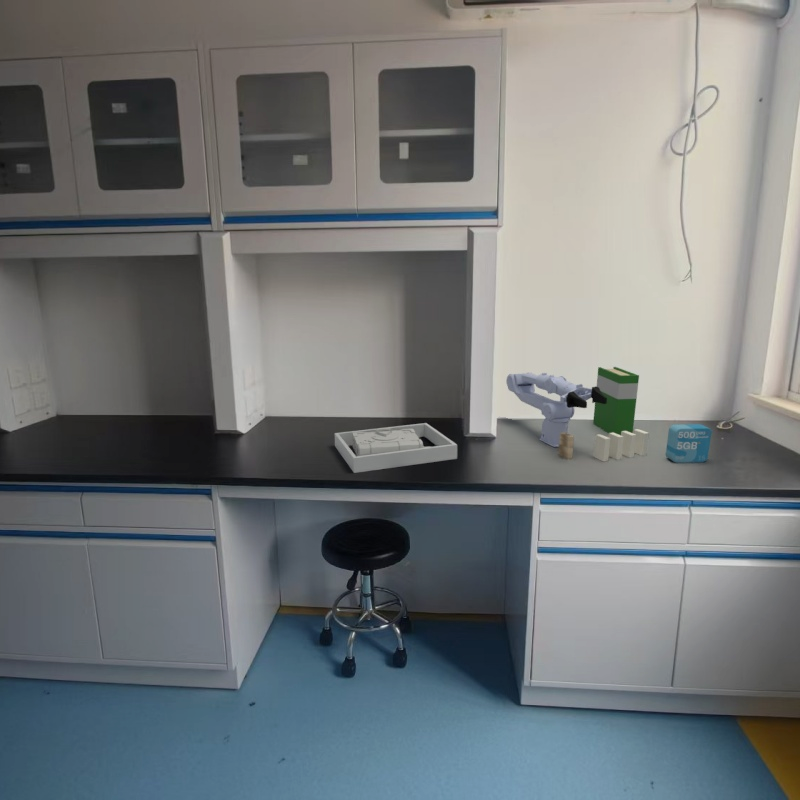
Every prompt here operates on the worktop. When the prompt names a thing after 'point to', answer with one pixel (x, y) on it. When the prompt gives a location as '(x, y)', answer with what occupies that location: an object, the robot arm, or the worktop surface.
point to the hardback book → (616, 400)
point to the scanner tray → (440, 452)
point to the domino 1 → (566, 445)
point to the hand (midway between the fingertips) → (596, 403)
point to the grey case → (385, 441)
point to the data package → (688, 443)
